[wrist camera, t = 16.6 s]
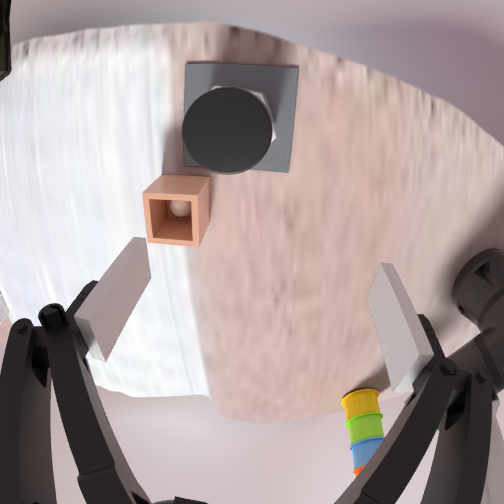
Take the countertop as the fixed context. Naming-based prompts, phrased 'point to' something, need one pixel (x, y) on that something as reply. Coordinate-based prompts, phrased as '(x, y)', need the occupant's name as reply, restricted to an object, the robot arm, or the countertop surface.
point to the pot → (165, 221)
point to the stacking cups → (363, 425)
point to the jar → (228, 129)
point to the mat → (256, 78)
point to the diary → (5, 39)
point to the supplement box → (3, 309)
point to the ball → (180, 207)
